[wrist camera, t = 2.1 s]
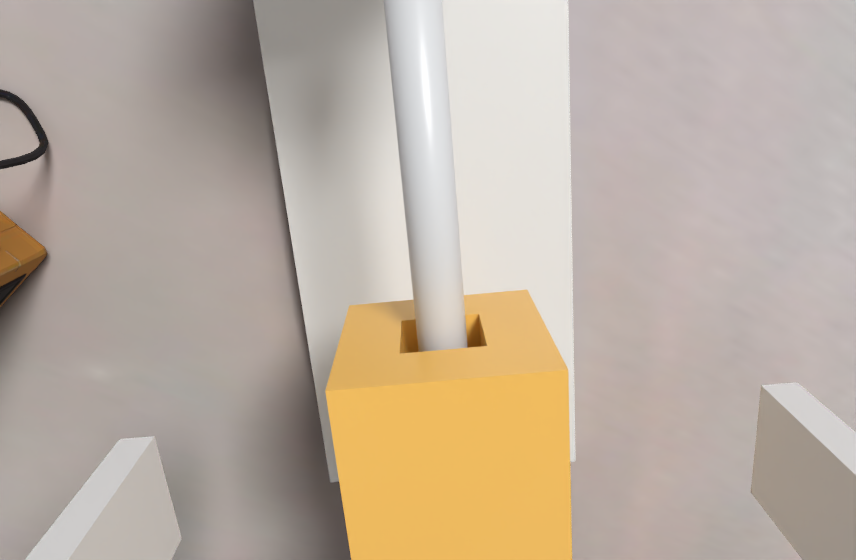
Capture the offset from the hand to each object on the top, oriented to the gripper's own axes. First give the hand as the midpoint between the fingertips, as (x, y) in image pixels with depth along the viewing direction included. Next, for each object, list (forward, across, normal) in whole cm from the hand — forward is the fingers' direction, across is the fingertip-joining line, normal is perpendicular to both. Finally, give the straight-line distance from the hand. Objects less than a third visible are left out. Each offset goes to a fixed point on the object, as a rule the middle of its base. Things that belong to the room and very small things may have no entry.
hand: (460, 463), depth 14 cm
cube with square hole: (+5, 0, 0) cm, 5 cm away
